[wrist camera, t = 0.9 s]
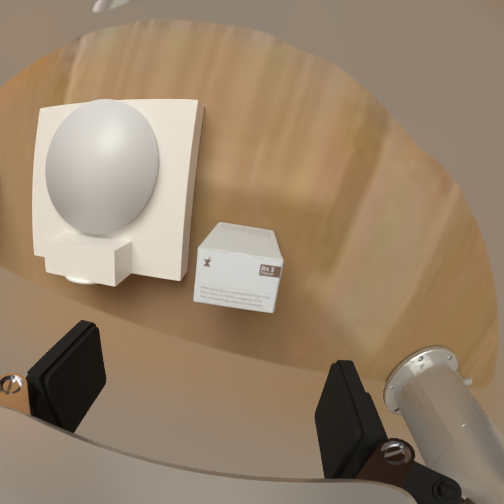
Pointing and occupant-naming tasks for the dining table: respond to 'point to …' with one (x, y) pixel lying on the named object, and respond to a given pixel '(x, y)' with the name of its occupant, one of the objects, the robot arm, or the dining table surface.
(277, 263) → the skincare box
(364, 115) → the dining table surface
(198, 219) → the dining table surface
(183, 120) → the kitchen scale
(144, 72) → the dining table surface
